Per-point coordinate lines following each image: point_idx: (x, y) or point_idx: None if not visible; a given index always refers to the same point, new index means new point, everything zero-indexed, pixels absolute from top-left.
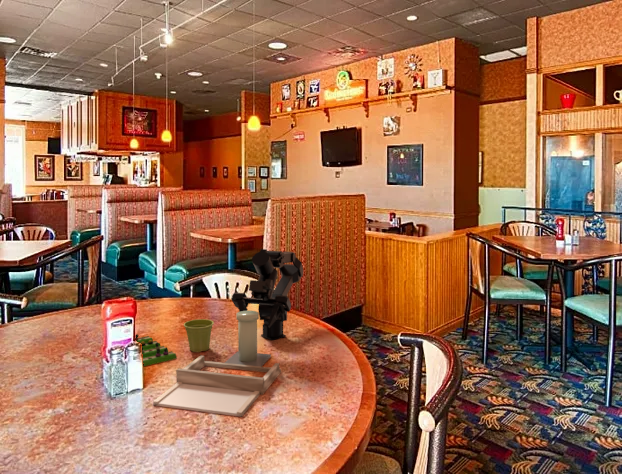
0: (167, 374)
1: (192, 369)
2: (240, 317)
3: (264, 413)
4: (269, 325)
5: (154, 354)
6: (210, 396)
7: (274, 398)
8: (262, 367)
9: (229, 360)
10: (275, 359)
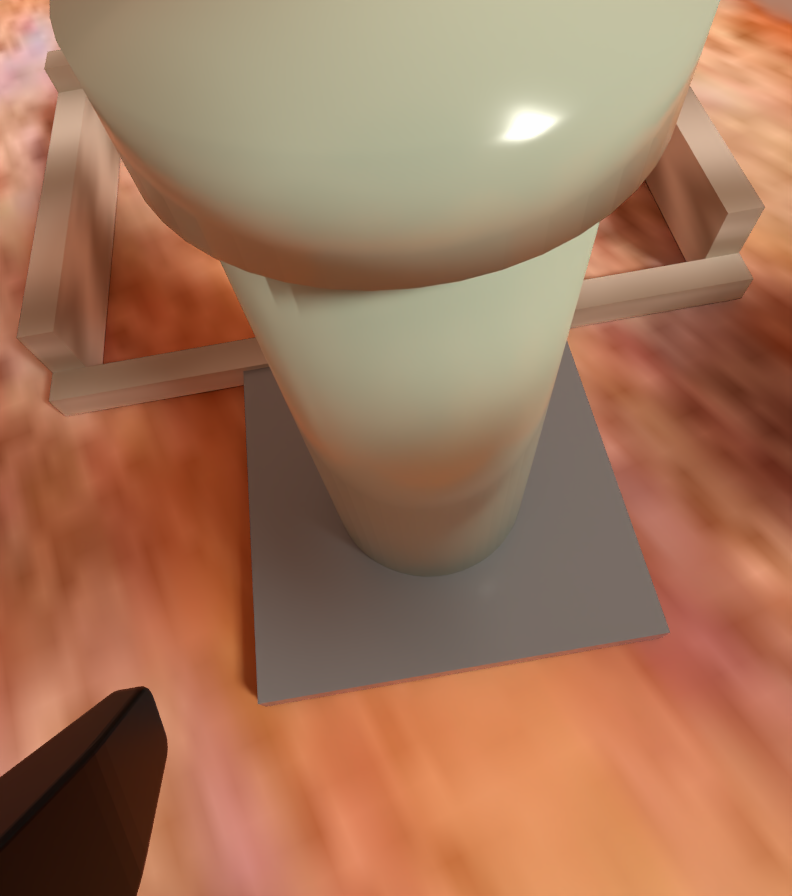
0: (783, 100)
1: None
2: None
3: (40, 40)
4: (112, 699)
5: None
6: None
7: (26, 136)
8: (203, 361)
9: (558, 382)
10: (193, 659)
